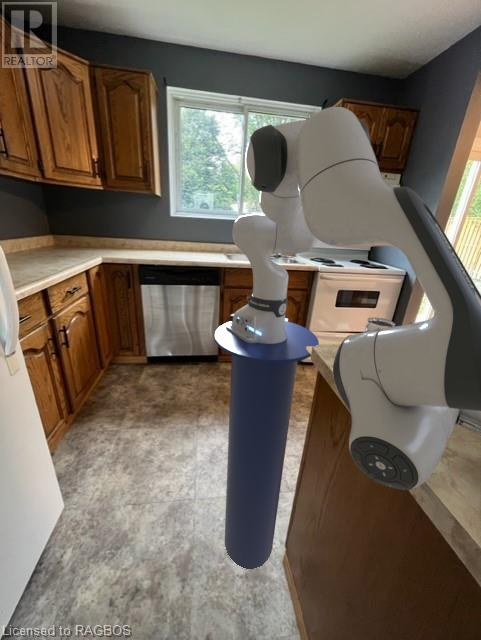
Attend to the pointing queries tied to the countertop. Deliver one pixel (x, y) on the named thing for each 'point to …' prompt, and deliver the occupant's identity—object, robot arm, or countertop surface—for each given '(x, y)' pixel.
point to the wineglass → (378, 324)
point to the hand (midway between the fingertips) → (441, 373)
